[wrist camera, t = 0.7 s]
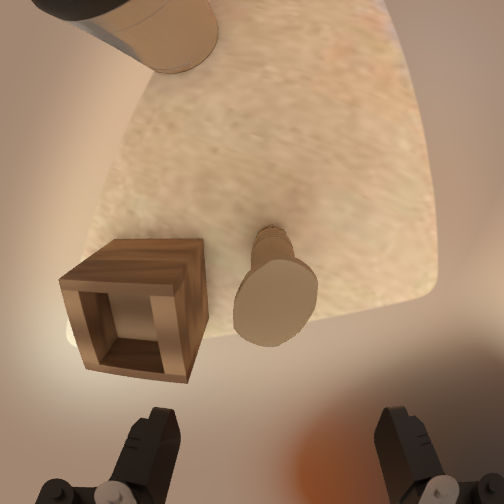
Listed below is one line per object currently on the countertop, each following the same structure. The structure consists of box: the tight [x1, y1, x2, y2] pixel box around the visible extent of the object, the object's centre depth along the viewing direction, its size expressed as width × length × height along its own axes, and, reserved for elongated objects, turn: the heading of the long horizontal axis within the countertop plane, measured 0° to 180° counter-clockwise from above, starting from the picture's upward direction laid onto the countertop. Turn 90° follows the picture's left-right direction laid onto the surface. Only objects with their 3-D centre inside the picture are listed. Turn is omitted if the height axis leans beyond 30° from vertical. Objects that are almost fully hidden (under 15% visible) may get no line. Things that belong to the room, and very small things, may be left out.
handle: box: [233, 225, 318, 347], centre depth 27 cm, size 5×6×15 cm
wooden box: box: [59, 239, 209, 384], centre depth 30 cm, size 10×11×12 cm
